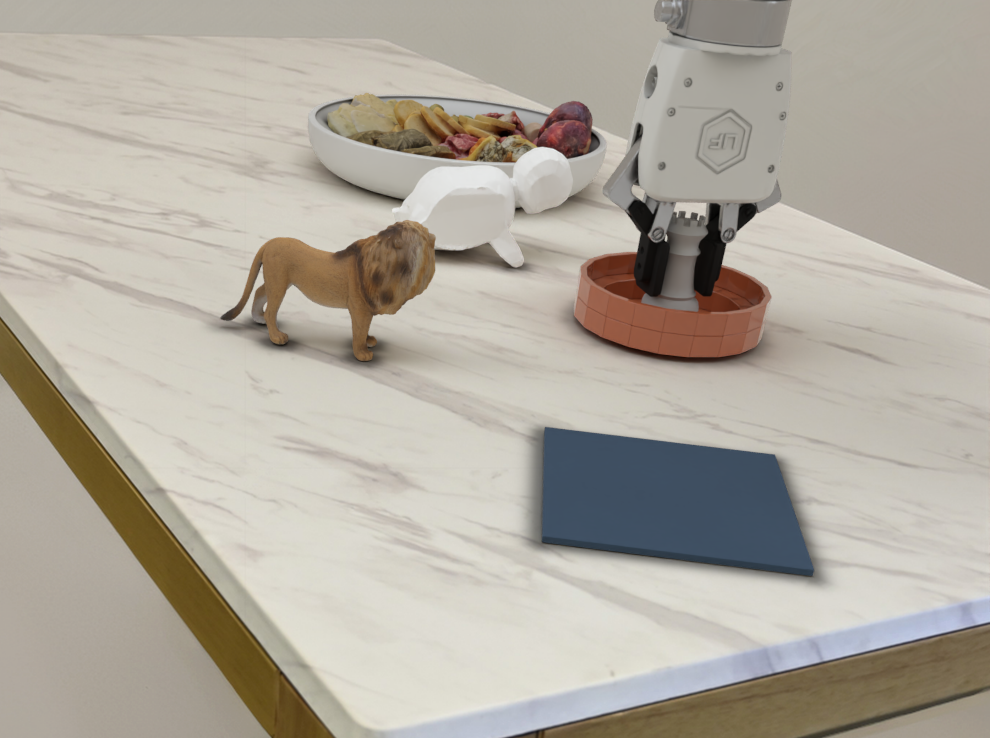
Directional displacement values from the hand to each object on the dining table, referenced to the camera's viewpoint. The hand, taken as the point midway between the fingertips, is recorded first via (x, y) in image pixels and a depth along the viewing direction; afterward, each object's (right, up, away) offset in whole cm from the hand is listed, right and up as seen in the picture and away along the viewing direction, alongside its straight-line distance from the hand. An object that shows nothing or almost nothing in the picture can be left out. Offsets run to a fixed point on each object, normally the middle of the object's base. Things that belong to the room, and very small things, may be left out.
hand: (673, 288), depth 94 cm
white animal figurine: (-13, +7, +14) cm, 21 cm away
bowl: (-15, +20, +36) cm, 43 cm away
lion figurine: (-25, -5, -6) cm, 27 cm away
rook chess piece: (0, -2, +2) cm, 3 cm away
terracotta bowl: (0, -3, +2) cm, 3 cm away
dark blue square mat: (-6, -18, -23) cm, 29 cm away
